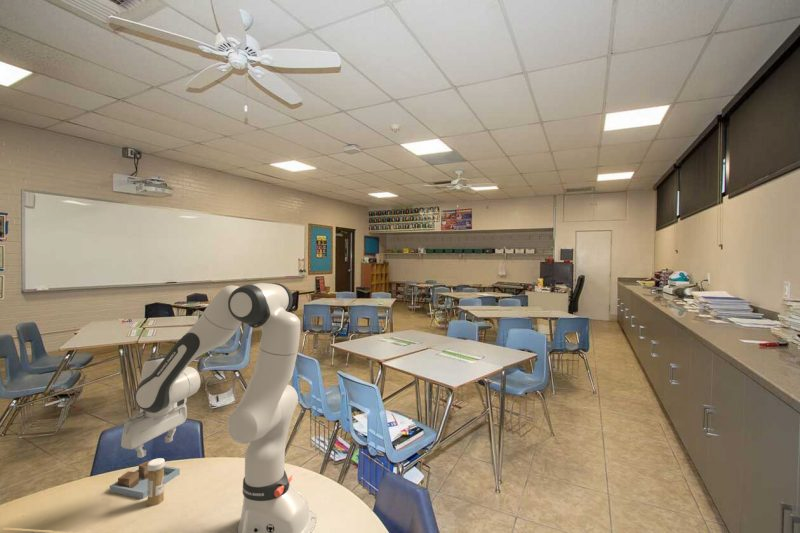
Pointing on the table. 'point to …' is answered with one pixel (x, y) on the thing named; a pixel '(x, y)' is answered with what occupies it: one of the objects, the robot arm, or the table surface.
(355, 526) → the table surface
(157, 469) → the sprinkles bottle
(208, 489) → the table surface
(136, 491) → the tray
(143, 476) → the walnut block
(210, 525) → the table surface
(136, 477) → the walnut block
